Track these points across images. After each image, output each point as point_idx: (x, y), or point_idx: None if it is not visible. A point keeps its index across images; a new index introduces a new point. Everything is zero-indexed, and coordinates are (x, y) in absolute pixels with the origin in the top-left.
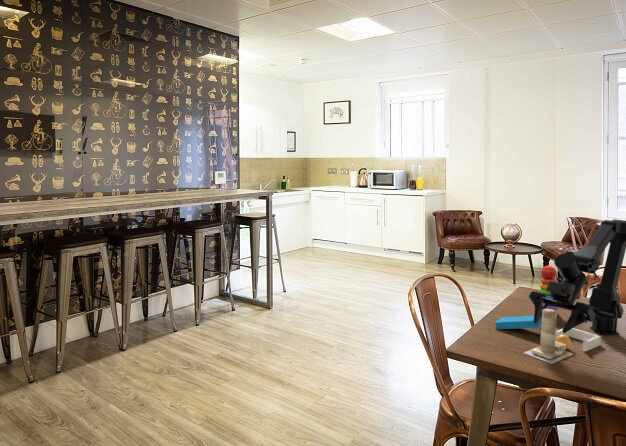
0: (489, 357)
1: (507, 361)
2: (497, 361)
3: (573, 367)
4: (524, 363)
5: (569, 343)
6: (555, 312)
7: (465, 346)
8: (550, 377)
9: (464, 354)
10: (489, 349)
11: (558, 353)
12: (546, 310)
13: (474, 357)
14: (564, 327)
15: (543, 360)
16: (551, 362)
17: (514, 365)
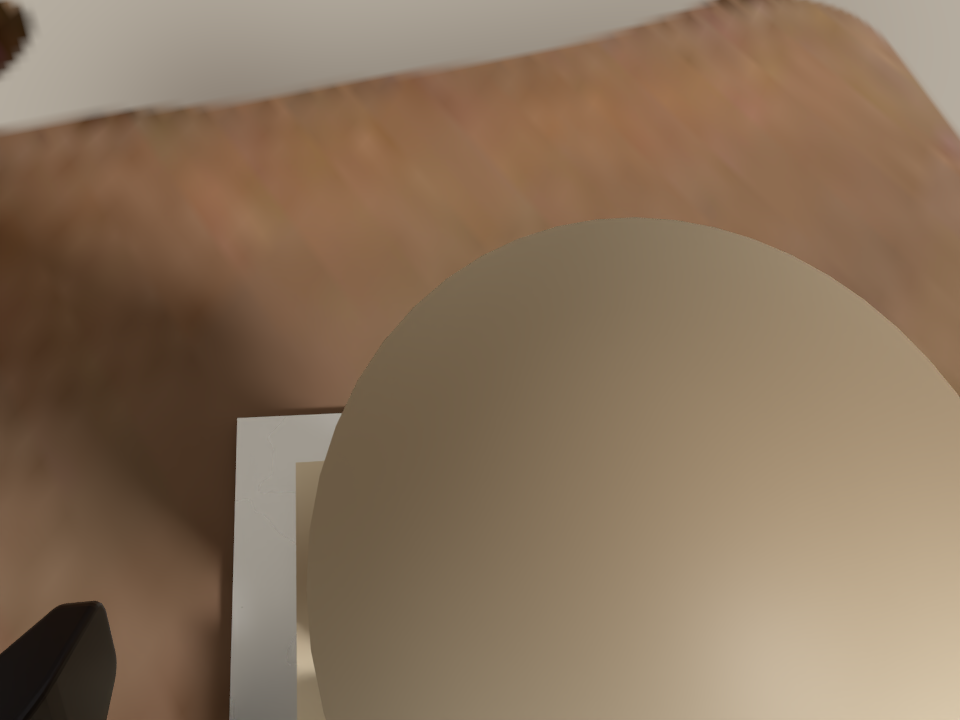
0: (637, 96)
1: (513, 139)
2: (551, 82)
3: (13, 568)
4: (407, 215)
5: None
6: (365, 604)
7: (880, 123)
8: (76, 147)
9: (752, 10)
10: (772, 222)
11: (298, 684)
12: (831, 474)
13: (682, 19)
14: (21, 671)
15: (339, 414)
16: (246, 430)
17: (425, 118)
